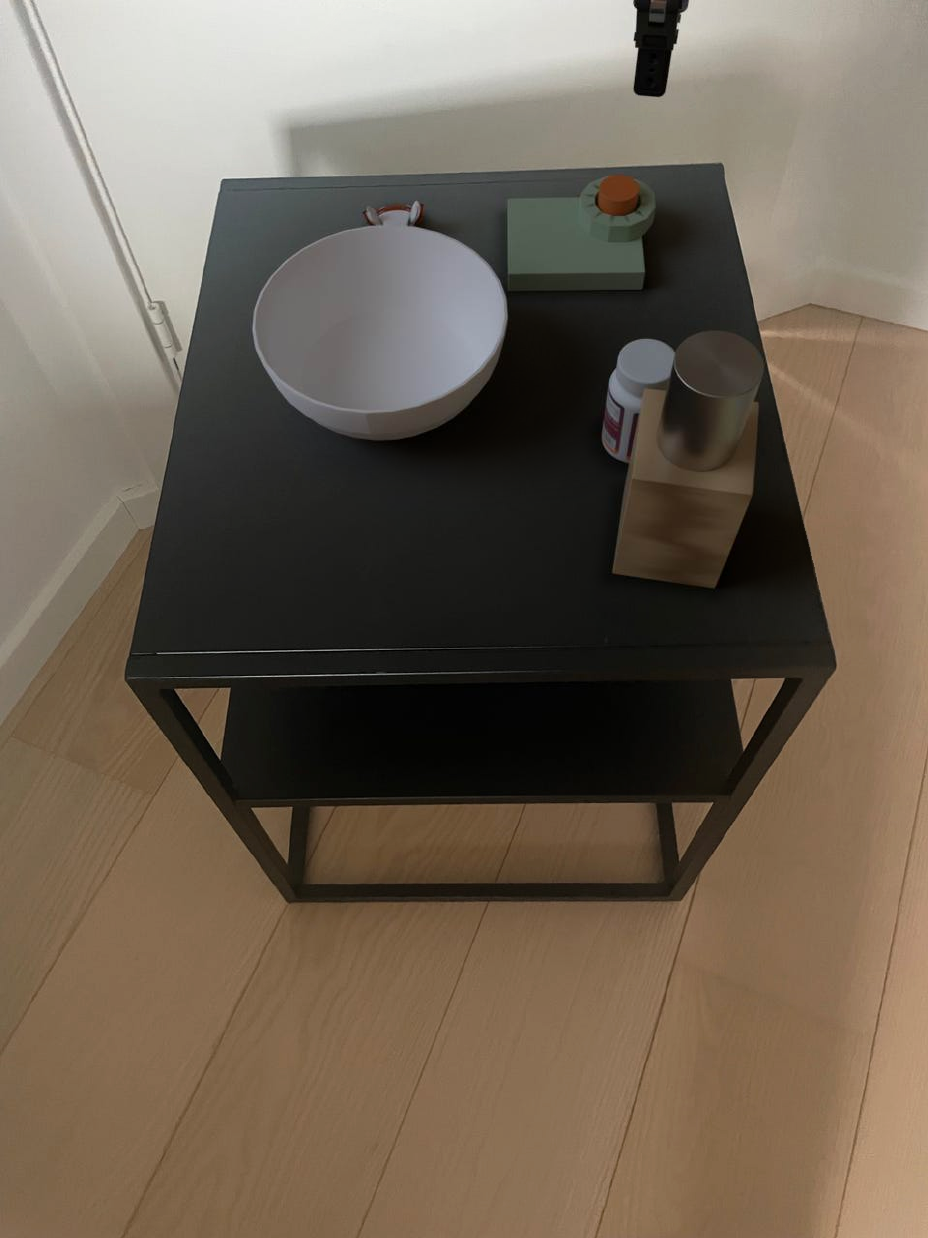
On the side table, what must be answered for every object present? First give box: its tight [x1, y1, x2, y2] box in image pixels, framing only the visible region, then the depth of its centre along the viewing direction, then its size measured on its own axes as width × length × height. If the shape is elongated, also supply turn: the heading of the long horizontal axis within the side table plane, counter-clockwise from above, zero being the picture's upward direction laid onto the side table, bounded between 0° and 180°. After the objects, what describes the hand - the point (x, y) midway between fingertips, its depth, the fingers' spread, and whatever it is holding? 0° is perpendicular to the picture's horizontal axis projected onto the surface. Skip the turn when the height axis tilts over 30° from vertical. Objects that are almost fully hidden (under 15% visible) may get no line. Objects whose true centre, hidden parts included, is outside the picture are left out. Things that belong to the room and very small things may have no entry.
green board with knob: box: [506, 175, 657, 292], centre depth 79 cm, size 12×10×4 cm
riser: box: [612, 388, 760, 589], centre depth 62 cm, size 7×7×11 cm
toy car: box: [362, 200, 425, 227], centre depth 80 cm, size 5×8×3 cm, turn 2°
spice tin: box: [657, 330, 765, 471], centre depth 54 cm, size 5×5×6 cm
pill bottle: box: [601, 338, 676, 464], centre depth 67 cm, size 5×5×8 cm
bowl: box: [252, 225, 509, 441], centre depth 71 cm, size 18×18×7 cm
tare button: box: [598, 174, 639, 216], centre depth 78 cm, size 3×3×2 cm
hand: (649, 89), depth 66 cm, fingers closed
